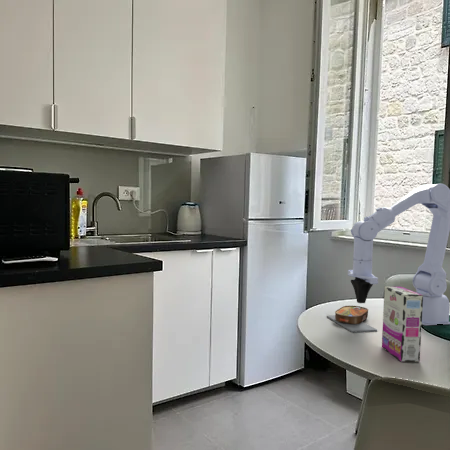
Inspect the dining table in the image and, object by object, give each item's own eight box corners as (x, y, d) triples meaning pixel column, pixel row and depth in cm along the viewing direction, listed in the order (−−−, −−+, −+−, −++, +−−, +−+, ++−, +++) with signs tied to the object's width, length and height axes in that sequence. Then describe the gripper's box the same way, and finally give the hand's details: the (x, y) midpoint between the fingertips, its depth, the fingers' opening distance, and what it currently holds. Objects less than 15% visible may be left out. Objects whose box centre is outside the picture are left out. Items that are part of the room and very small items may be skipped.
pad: (348, 316, 146) (348, 314, 146) (377, 331, 129) (377, 329, 129) (326, 317, 144) (326, 315, 144) (352, 332, 127) (352, 330, 127)
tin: (358, 317, 132) (331, 311, 136) (356, 328, 132) (330, 321, 137) (371, 308, 144) (346, 302, 149) (370, 317, 145) (345, 311, 149)
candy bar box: (421, 362, 105) (424, 294, 104) (401, 362, 104) (404, 294, 103) (399, 346, 116) (401, 285, 115) (380, 347, 115) (383, 285, 114)
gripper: (339, 256, 142) (338, 297, 143) (363, 263, 128) (361, 308, 129) (359, 256, 144) (358, 297, 145) (384, 263, 130) (383, 308, 130)
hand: (361, 302), depth 137 cm, fingers closed
